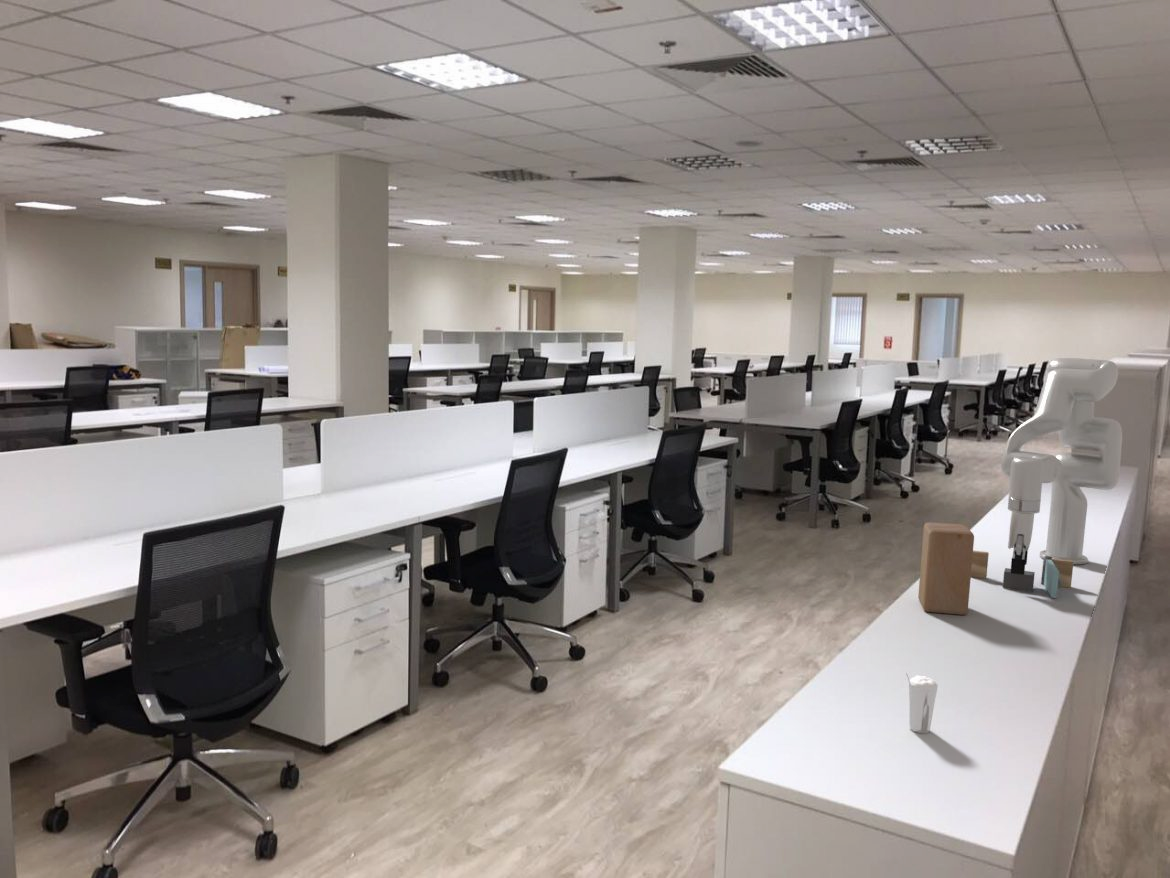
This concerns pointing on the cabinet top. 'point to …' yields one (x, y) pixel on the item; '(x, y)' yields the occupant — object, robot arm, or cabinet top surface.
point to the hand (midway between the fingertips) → (1018, 568)
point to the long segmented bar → (1062, 565)
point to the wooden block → (946, 568)
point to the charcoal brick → (1018, 580)
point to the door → (1052, 578)
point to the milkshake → (921, 702)
